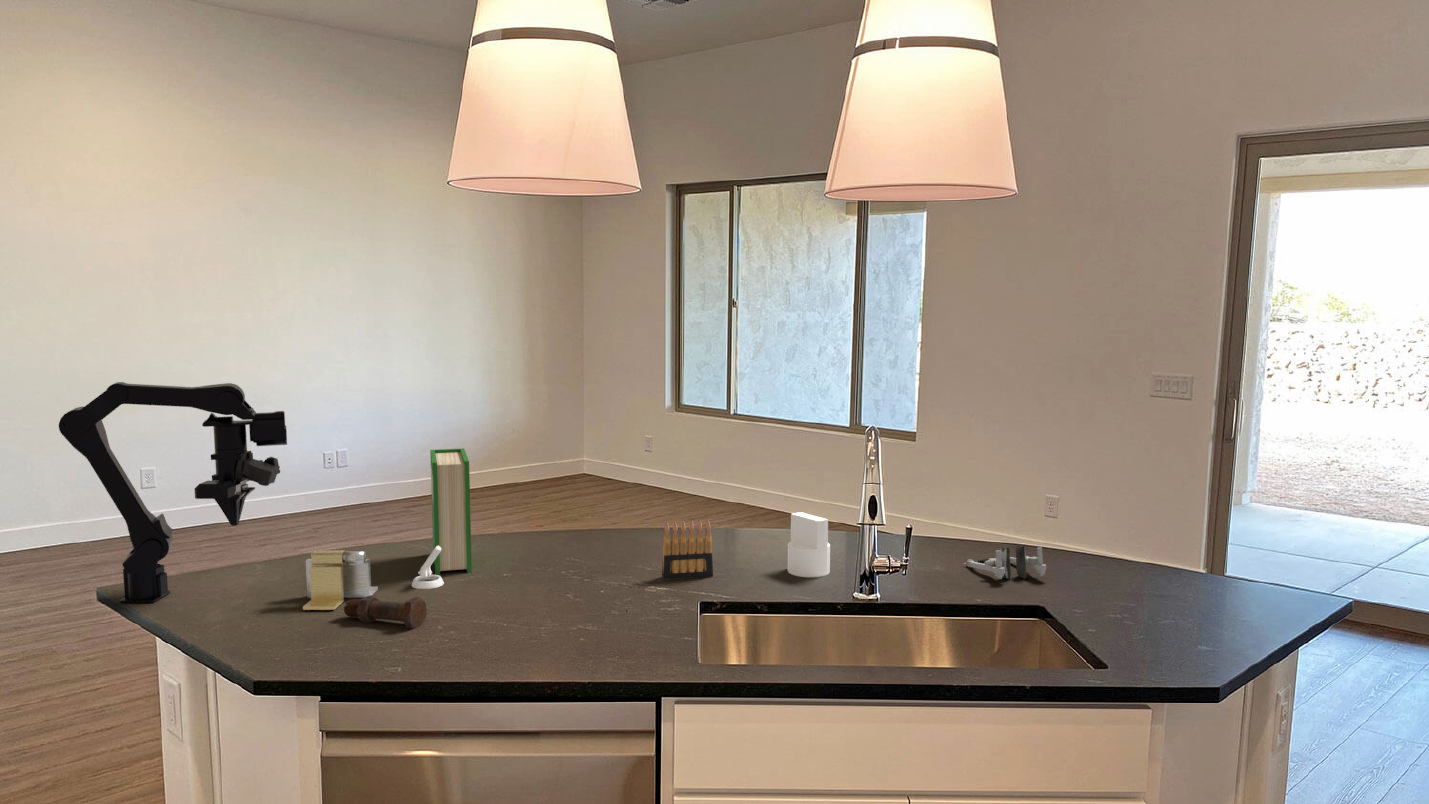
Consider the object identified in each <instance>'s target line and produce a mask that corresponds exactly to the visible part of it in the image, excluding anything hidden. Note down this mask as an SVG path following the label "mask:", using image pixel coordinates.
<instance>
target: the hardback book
mask: <svg viewBox="0 0 1429 804" xmlns="http://www.w3.org/2000/svg"><path fill="white" fill-rule="evenodd" d="M429 454H430V479H431V480H430V481H431V482H430V485H431V489H430V490H431V520H432V521H431V524H432V525H431V526H432V551H433V550H434V549H435V547H436V546H438V545H439V546H440V547H441V552H440V553H439V555H438V556H437V557H436V559H435V560H434V562H433V564H434V572H435V574H434V575H439V576H441V572H445V571H457V570H459V571H460V570H466V573H472V571H473V570H472V568H473V567H472V566H473V565H472V531H471V528H472V527H471V526H472V525H471V524H472V523H471V522H472V521H471V489H470V488H471V486H470V485H471V484H470V479H471V478H470V477H471V476H470V460H469V456H468V453H466V450H465V448H443V449H441V448H440V449H430V453H429Z"/></svg>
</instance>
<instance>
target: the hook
mask: <svg viewBox="0 0 1429 804" xmlns="http://www.w3.org/2000/svg"><path fill="white" fill-rule="evenodd" d="M440 552H441V547H440V546H439V545H438V546H436V547H435V549H434V550H433V549H432V551H431V553H430V555H429V556H428V557H427V558H426V561H425V562H424V563H423V564H422V566H421V567H420V570H418V572H417V573H418V575H419V576H415V577H414V578H413V580H412V582H411V587H412V588H414V589H417V590H426V589H427V590H431V589H435V588H439V587H442V586H444V584H445V582H444V579H443V578H442V576H441V575H436V574H433V571H432V570H431V566H432V565H433V564H434V560H435V559H436V557H437V556H438V555H439V553H440Z"/></svg>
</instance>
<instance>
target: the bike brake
mask: <svg viewBox="0 0 1429 804" xmlns="http://www.w3.org/2000/svg"><path fill="white" fill-rule="evenodd" d="M1036 555H1037V556H1028V555H1026V548H1025V546H1024V545H1019V544H1016V547H1015V557H1013V556H1011V555H1010V548H1009V546H1006V545H1001V546H1000V550H995V557H994V558H984V559H980V560H977V561H974V560H973V559H967V560H966V562H964V563H963V562H962V565H966V566H967V567H968V568H974V569H978V570H982V571H989V572H992V573H993V574H994V575H995V578H996V579H997V580H1003V578H1004V579H1006V580H1011V576H1012V573H1011V571H1012V570H1011V564H1016V575H1017V577H1019V578H1021V579H1026V578H1027V569H1029V570H1032V571H1033V570H1034V571H1036V574H1037V575H1038V577H1044V575H1045V574H1046V571H1047V564H1045V563H1044V559H1043V558H1044V556H1043V547H1036Z"/></svg>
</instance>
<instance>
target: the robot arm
mask: <svg viewBox="0 0 1429 804" xmlns="http://www.w3.org/2000/svg"><path fill="white" fill-rule="evenodd" d="M245 395H246V394H245V392H244V390H243V389H242V388H241V386H239V385H238V384H235V383H231V382H230V383H229V382H227V383H226V382H225V383H219V384H218V383H216V384H209V385H203V386H202V385H201V386H180V385H179V386H177V385H161V384H160V385H159V384H158V385H157V384H141V383H140V384H139V383H128V382H127V383H126V382H123V381H119V382H118V381H117V382H114V383H113V384H110V385H109V386H108V387H107V388H106V390H104V391H103V392H102V393H101V394H99V395H98V396H96V397H95V398H94V399H92V400H91V401H89V402H88V403H87V404H86V405H85V406H78V407H74V408H73V409H71V410H69V411H68V412H66V413H64V414H63V415H62V416H61V417H60V420H59V422H58V430H59V432H60V434H61V435H62V436H63V438H65V440H67V442H69V444H70V445H71V446H72V447H73V448H74V449H75V450H76V451H77V452H79V453H80V454H81V455H82V456H84V458H86V459H87V461H88V462H89V465H91V467H92V469H93V471H94V472H95V474H96V475H97V477H98V479H99V480H100V482H101V484H102V485H103V487H104V489H105V491H106V492H107V494H108V495H109V497H110V499H111V500H112V502H113V503H114V505H115V506H116V508H117V509H118V511H119V513H120V515H121V516H122V518H123V519H124V521H125V523H126V527H127V531H128V534H129V539H130V542H131V544H132V548H133V549H131V551H130V552H129V553H128V554H127V556H126V558H125V560H123V562H122V567H123V569H122V574H123V575H122V576H123V591H124V595H123V596H124V597H122V598H121V599H119V603H121V604H122V603H126V604H127V603H129V604H130V603H133V604H134V603H155V602H157V601H158V600H160V599H162V598H164V597H166V596H168V595H169V594H170V593H171V590H169V588H168V587H169V584H168V573H167V572H166V571H165V564H160V563H159V562H160V561H161V560H163V559H165V557H166V556H167V555H168V553H169V551H170V549H171V548H172V545H173V540H174V539H173V532H174V529H173V528H172V527H170V525H169V523H167V520H166V517H165V515H164V513H161V514H159V515H157V516H156V515H154V514H153V513H152V512H151V511H150V510H149V509H148V508H147V507H146V505H145V503H144V502H143V500H142V498H141V497H140V495H139V493H138V492H137V490H136V489H135V487H134V485H133V484H132V482H131V480H130V478H129V477H128V475H127V474H126V472H125V471H124V469H123V467H122V466H121V463H120V462H119V460H118V459H117V457H116V455H115V454H114V452H113V451H112V449H111V447H110V443H109V440H108V435H107V434H108V433H107V431H106V428H105V425H104V423H103V420H104V418H106V417H107V416H109V415H110V414H111V413H113V412H114V411H115V410H116V409H118V408H119V407H120V406H121V405H138V406H139V405H141V406H143V405H145V406H161V407H163V406H164V407H180V408H181V407H182V408H185V407H186V408H191V409H192V408H193V409H197V410H201V411H205V412H209V413H210V414H209V416H208V417H207V419H206V420H204V421H203V423H202V427H204V428H206V427H213V439H214V440H213V441H214V453H211V454H210V460H211V461H215V463H214V464H215V474H212V475H211V480H206V481H203V482H201V483H199V484H198V485H196V487H195V488H194V499H196V500H200V499H201V500H207V499H208V500H209V499H210V500H214V501H215V502H216V504H217V505H218V506H219V508H220V510H221V511H222V513H223V515H224V516H225V518H226V519H227V521H228V522H229V524H230V525H231V526H232V527H233V526H234V527H235V526H238V525H239V523H240V520H241V516H242V512H243V508H244V504H245V500H246V498H247V497H248V496H249V495H250V494H251V493H252V492H253V491H255V489H256V487H254V486H253V487H252V486H249V484H248V483H247V482H250V481H252V482H253V483H254V482H255V483H257V484H259V485H260V486H263V487H267V486H269V485H270V484H274V483H275V482H276V479H277V475H279V474H281V469H280V468H281V466H280V465H279V461H278V460H279V459H278V458H276V457H274V456H269V457H267V458H266V459H263V460H262V459H255V458H254V455H253V454H254V453H253V452H252V450H248V446H247V445H248V442H247V425H248V426H249V441H250V442H253V443H255V446H256V447H267V446H268V447H269V446H287V445H288V437H287V436H288V431H287V425H286V416H285V413H286V412H285V410H276V411H272V412H256V410H254V407H252V406H251V405H250V404H249V402H247V401H246V396H245ZM216 414H218V415H223V416H217V415H216ZM234 416H235V417H237V418H238V419H241V420H234Z"/></svg>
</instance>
